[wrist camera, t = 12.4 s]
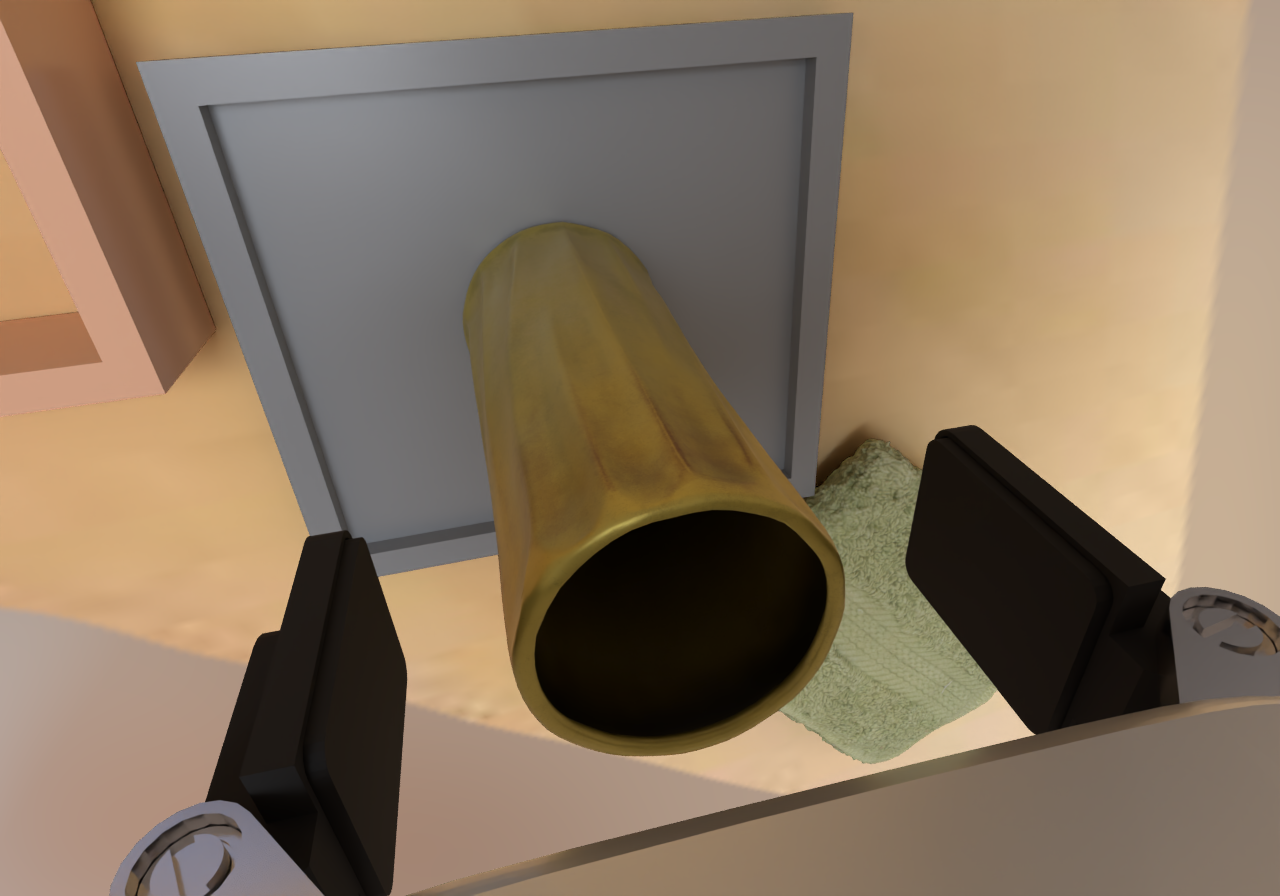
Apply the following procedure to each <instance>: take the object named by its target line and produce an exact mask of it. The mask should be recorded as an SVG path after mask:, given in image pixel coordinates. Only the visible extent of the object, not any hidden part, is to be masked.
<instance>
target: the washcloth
mask: <svg viewBox="0 0 1280 896" xmlns="http://www.w3.org/2000/svg"><path fill="white" fill-rule="evenodd" d="M889 444H890V441H889V442H886V443H885V442H884V441H882V440H875V439H868V440H866V441H865V442H864V443H863V444H862V445H861V446H860V447H858V449H857V450H856V452H855V454H854V456H852V457H849V458H847V459H846V460H844V461H843V462H842V463H841V465H840V467H839V468H838V469H836V470H834V471H833V472H832V474H831V475H830V476H828V478H827V480H826V481H824V482H823V484H822V485H820V487H817V488H815V494H814V496H810V497H807V498H806V499H805V498H803V500H804V501H805V502H806V504H807V505H808V506H809V507H810V509H811V510H812V512H813V513H814V514H815V516H816V517H817V518H818V520H819V521H820V522H821V524H822V525H823V526H824V528H825V529H826V531H827V532H828V534H829V535H830V537H831V539H832V540H833V542H834V544H835V546H836V549H837V551H838V553H839V556H840V559H841V561H842V564H843V568H844V575H845V609H844V613H843V618H842V621H841V624H840V626H839V629H838V632H837V634H836V637H835V639H834V641H833V644H832V646H831V648H830V651H829V653H828V654H827V656H826V658H825V660H824V662H823V664H822V665H821V667H820V668H819V670H818V671H817V673H816V674H815V676H814V677H813V678H812V679H811V680H810V682H809V683H808V684H807V685H806V686H805V688H804V689H803V690H802V691H801V692H800V693H799V694H798V695H797V696H796V697H795V698H794V699H793V700H792V701H790V702H789V703H788V704H786V705H785V706H784V707H782V708H781V709H780V710H778V711H781V712H783V713H784V714H785V715H786V716H787V717H789V718H790V719H791V720H793V721H795V722H796V723H803V724H804V726H805V727H806V728H807V730H808V731H814V732H815V733H817V734H819V736H821V737H822V741H825V742H826V743H828V744H831V745H832V746H833V747H834V748H835V749H837V750H838V751H840V752H841V753H845V754H846V755H847V756H851V757H852V758H853V760H855V759H857V760H859V761H861V762H862V763H869V764H872V763H874V764H875V763H878V762H884V761H887V760H890V759H892V758H894V757H896V756H899V755H900V754H901V753H903V752H905V751H906V750H907V749H909V748H910V747H911V746H912V745H914V744H915V743H916V742H918V741H919V740H921V739H922V738H924V737H925V736H926V735H928V734H929V733H931V732H933V731H934V730H936V729H939V728H940V727H941V726H943V725H945V724H947V723H950V722H952V721H954V720H956V719H958V718H960V717H962V716H964V715H965V714H967V713H969V712H970V711H972V710H974V709H976V708H978V707H979V706H980V705H982V704H984V703H986V702H987V701H988V700H989V699H990V698H991V697H992V696H993V694H994V693H995V692H996V691H997V688H996V687H995V686H994V685H993V683H992V682H991V681H990V679H989V678H988V677H987V676H986V674H985V673H984V672H983V671H982V669H981V668H980V667H979V666H978V664H977V663H976V662H975V660H974V659H973V658H972V657H971V655H970V654H969V653H968V652H967V650H966V649H965V648H964V646H963V645H962V644H961V643H960V641H959V640H958V639H957V638H956V636H955V635H954V634H953V633H952V631H951V630H950V629H949V627H948V626H947V625H946V624H945V622H944V621H943V620H942V619H941V617H940V616H939V615H938V613H937V612H936V611H935V610H934V608H933V607H932V606H931V605H930V603H929V602H928V601H927V600H926V598H925V597H924V596H923V594H922V593H921V592H920V591H919V589H918V588H917V587H916V586H915V584H914V583H913V582H912V580H911V579H910V577H909V575H908V573H907V570H906V565H905V557H906V552H907V547H908V542H909V537H910V532H911V526H912V521H913V516H914V511H915V506H916V501H917V496H918V490H919V485H920V480H921V475H922V470H920V469H919V468H918V467H914V466H913V465H912V464H911V463H910V462H909V460H908V459H907V458H905V457H904V456H903V455H902V454H901V453H900V452H899V451H898V450H896V449H895V448H892V447H891V446H890V445H889Z"/></svg>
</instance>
